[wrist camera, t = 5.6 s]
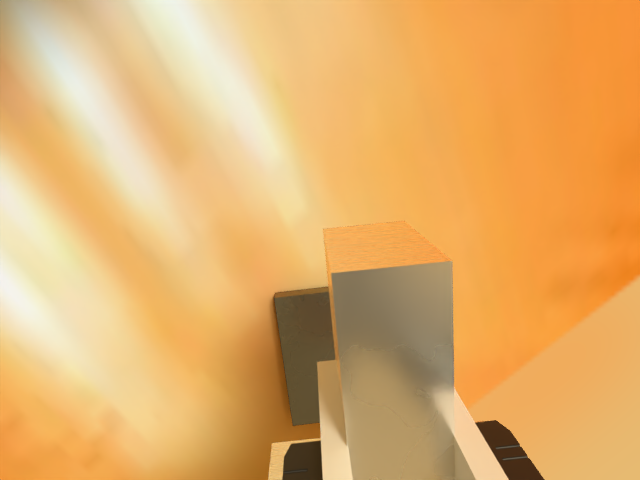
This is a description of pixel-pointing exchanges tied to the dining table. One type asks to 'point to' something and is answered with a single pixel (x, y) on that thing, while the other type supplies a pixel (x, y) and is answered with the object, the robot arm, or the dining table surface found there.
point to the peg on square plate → (304, 347)
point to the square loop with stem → (391, 352)
